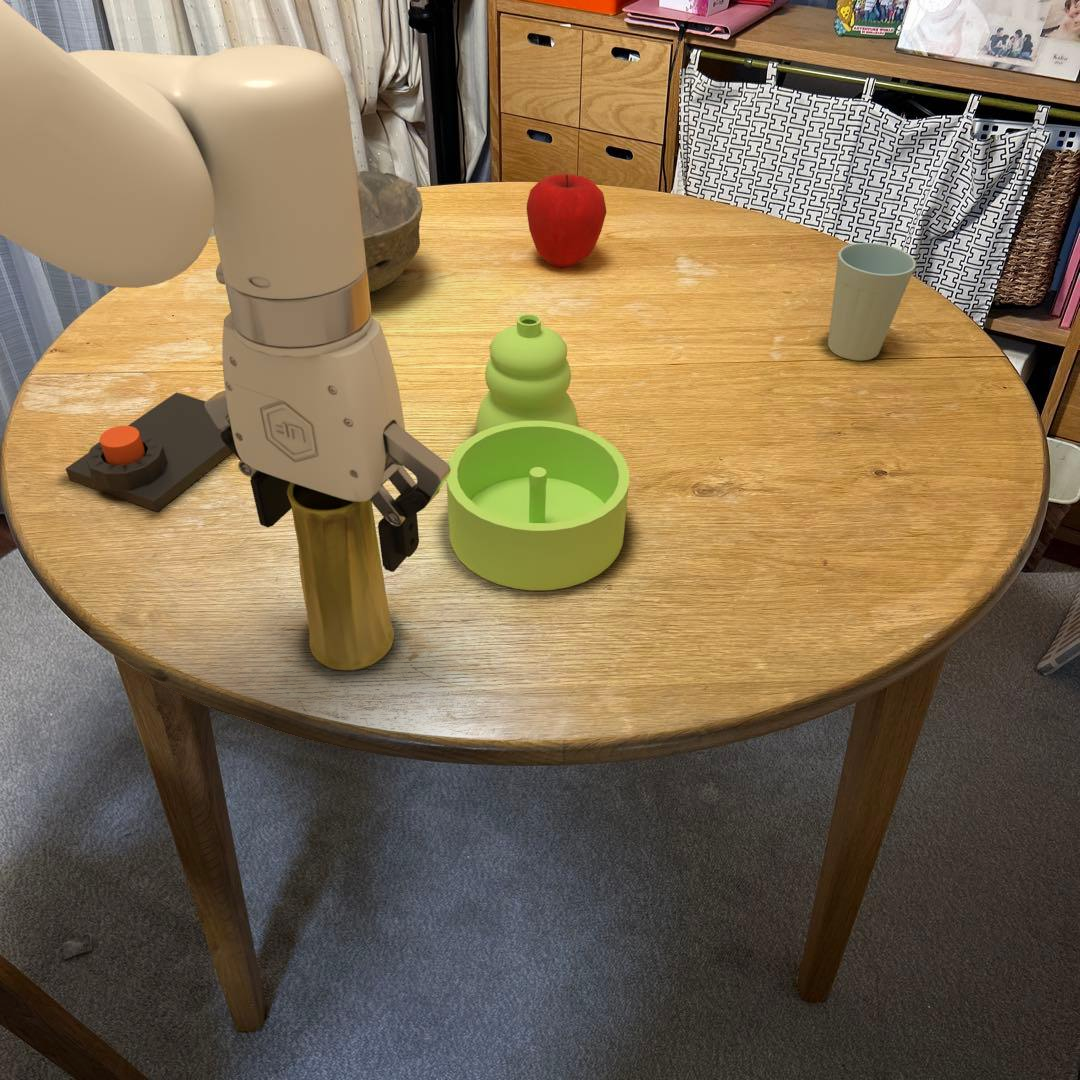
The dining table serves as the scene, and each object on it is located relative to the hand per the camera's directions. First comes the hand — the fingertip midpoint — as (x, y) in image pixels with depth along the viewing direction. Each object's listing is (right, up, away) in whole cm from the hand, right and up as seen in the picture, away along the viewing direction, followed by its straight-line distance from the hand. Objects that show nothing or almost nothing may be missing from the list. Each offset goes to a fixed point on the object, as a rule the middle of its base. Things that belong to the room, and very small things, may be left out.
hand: (338, 536), depth 64 cm
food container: (+13, +4, +21) cm, 24 cm away
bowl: (-10, +30, +50) cm, 60 cm away
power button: (-22, +7, +19) cm, 30 cm away
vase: (0, -8, +7) cm, 10 cm away
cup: (+48, +21, +41) cm, 66 cm away
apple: (+16, +34, +56) cm, 68 cm away
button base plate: (-20, +8, +24) cm, 32 cm away
